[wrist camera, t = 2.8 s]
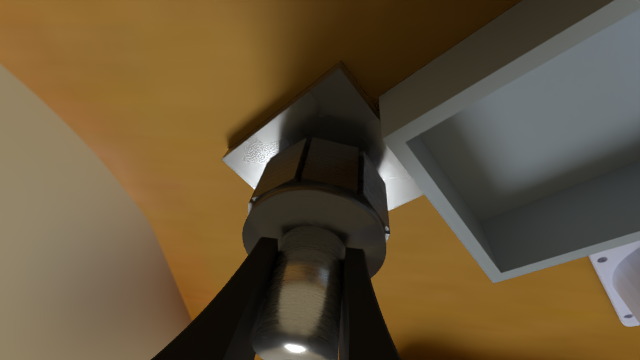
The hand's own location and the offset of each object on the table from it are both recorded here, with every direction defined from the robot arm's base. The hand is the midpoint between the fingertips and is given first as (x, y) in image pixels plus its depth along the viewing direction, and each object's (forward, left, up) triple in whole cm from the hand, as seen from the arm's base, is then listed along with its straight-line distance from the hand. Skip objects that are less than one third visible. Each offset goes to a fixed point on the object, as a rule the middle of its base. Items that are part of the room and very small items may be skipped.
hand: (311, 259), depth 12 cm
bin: (-3, -9, -7) cm, 12 cm away
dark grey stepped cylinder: (0, 0, -4) cm, 4 cm away
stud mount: (0, 0, -7) cm, 7 cm away
